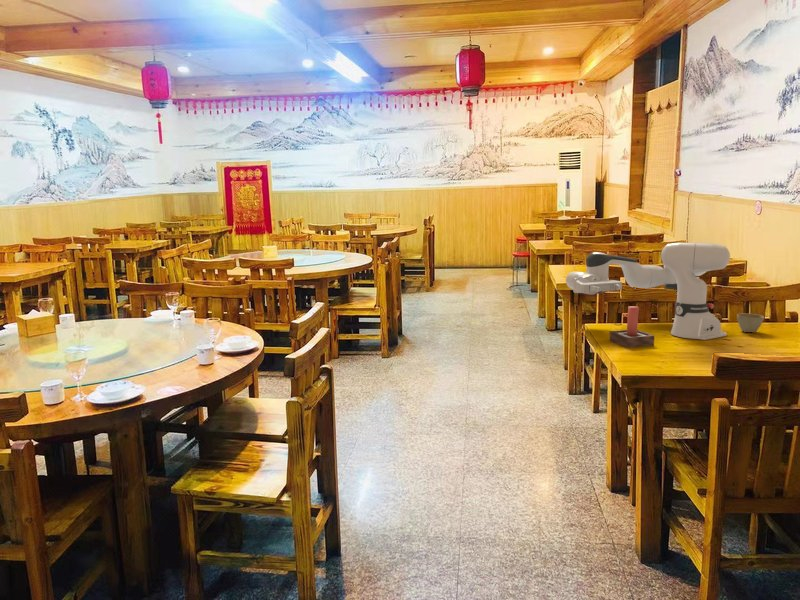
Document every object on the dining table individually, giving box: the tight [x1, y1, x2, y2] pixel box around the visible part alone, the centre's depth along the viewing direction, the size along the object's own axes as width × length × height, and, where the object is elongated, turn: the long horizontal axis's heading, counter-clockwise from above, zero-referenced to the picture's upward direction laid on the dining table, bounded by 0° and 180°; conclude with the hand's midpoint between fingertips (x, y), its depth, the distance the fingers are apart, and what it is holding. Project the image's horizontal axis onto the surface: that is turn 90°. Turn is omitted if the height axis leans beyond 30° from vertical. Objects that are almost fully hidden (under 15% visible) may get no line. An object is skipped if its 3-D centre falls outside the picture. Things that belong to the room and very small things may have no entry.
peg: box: [626, 305, 640, 337], centre depth 253 cm, size 4×4×14 cm
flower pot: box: [736, 312, 765, 333], centre depth 270 cm, size 10×10×7 cm
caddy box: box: [609, 329, 655, 349], centre depth 254 cm, size 12×12×4 cm
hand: (609, 288), depth 264 cm, fingers open, 8 cm apart
